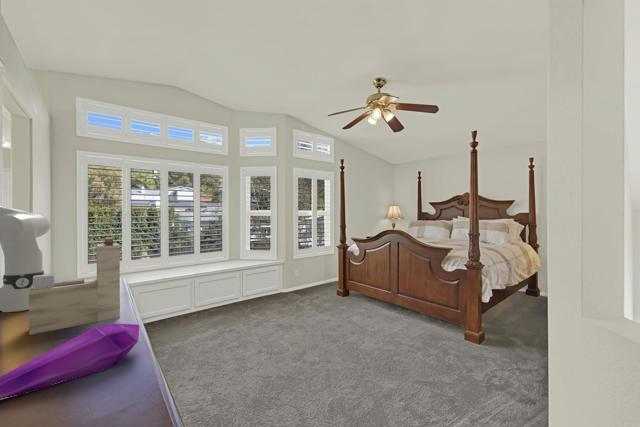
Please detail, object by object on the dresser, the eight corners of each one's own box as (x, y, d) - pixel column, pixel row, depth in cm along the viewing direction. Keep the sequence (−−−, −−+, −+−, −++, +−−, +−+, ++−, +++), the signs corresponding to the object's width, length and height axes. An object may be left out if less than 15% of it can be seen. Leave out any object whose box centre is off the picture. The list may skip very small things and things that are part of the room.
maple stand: (31, 327, 98) (31, 241, 98) (117, 311, 114) (117, 237, 114) (29, 335, 92) (28, 242, 92) (120, 317, 108) (119, 238, 107)
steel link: (32, 289, 94) (32, 277, 94) (34, 287, 97) (34, 275, 97) (84, 283, 102) (84, 272, 102) (84, 281, 106) (84, 270, 105)
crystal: (-14, 388, 55) (153, 320, 78) (-18, 363, 64) (132, 308, 87) (-4, 428, 56) (158, 349, 79) (-10, 398, 65) (137, 335, 88)
